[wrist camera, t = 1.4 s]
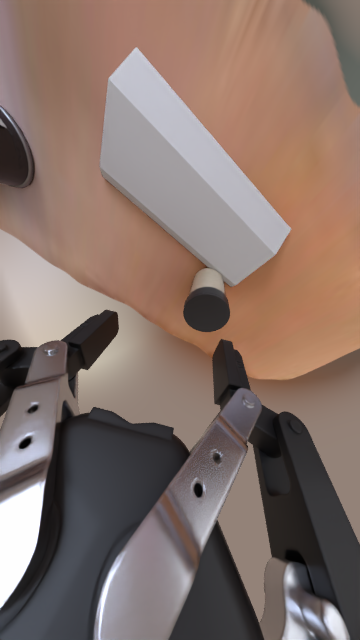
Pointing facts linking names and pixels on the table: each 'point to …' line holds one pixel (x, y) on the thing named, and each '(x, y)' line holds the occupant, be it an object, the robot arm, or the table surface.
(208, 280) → the coffee jar
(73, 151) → the table surface
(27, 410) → the robot arm
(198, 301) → the jar lid
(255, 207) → the crown molding
